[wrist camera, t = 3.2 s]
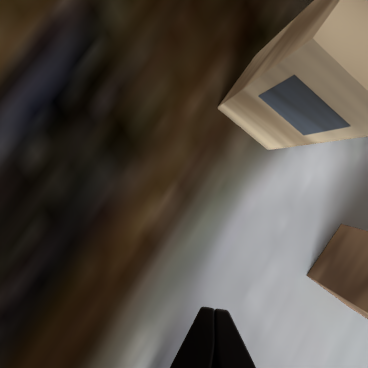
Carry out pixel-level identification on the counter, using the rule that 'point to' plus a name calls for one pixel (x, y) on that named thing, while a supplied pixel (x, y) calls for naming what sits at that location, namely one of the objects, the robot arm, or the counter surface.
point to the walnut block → (345, 268)
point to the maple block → (307, 80)
